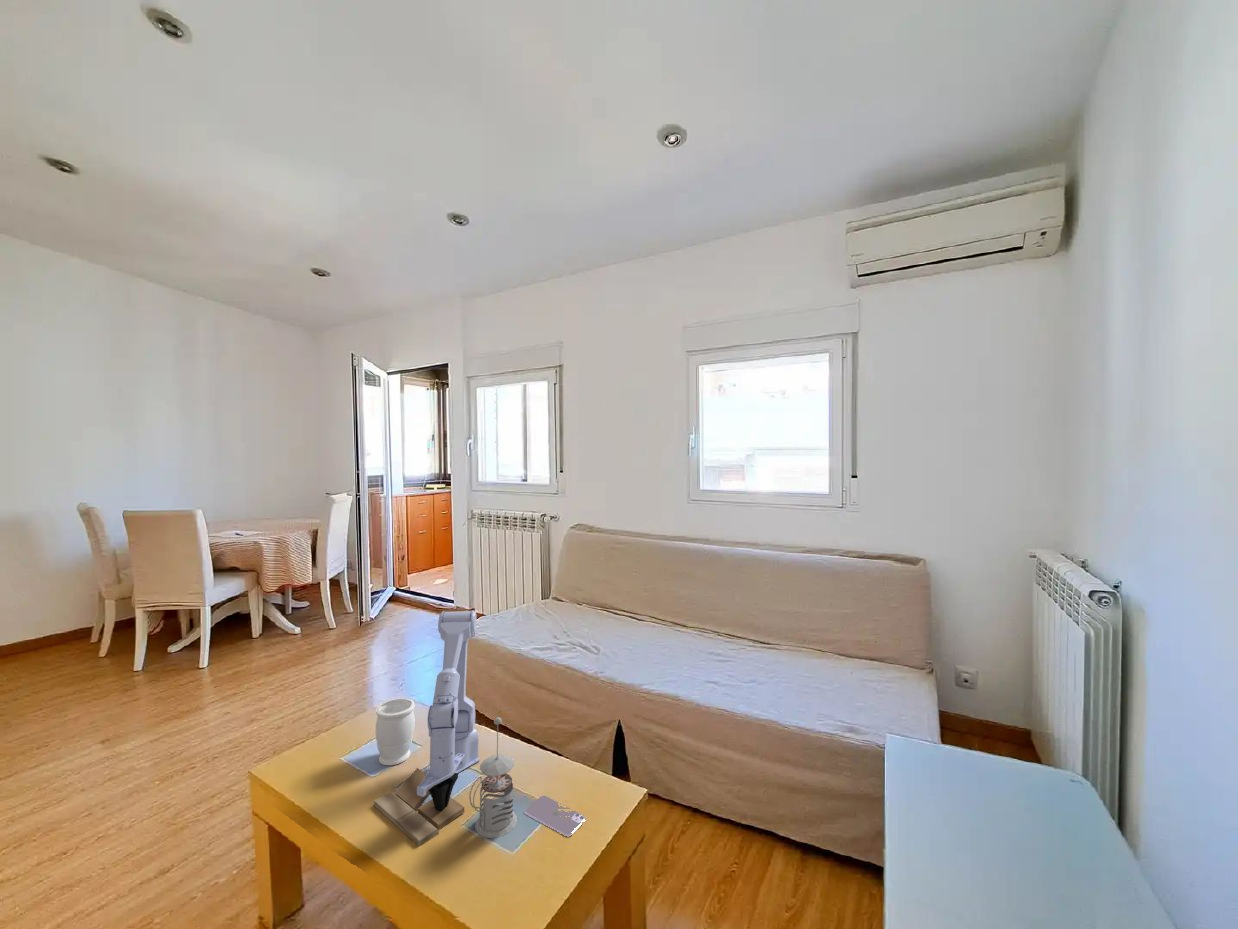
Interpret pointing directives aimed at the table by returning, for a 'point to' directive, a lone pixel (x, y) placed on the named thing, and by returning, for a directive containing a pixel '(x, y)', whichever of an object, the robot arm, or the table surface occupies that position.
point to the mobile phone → (555, 815)
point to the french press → (495, 816)
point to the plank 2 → (441, 813)
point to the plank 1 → (412, 790)
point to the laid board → (406, 818)
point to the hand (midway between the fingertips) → (441, 807)
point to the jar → (395, 730)
